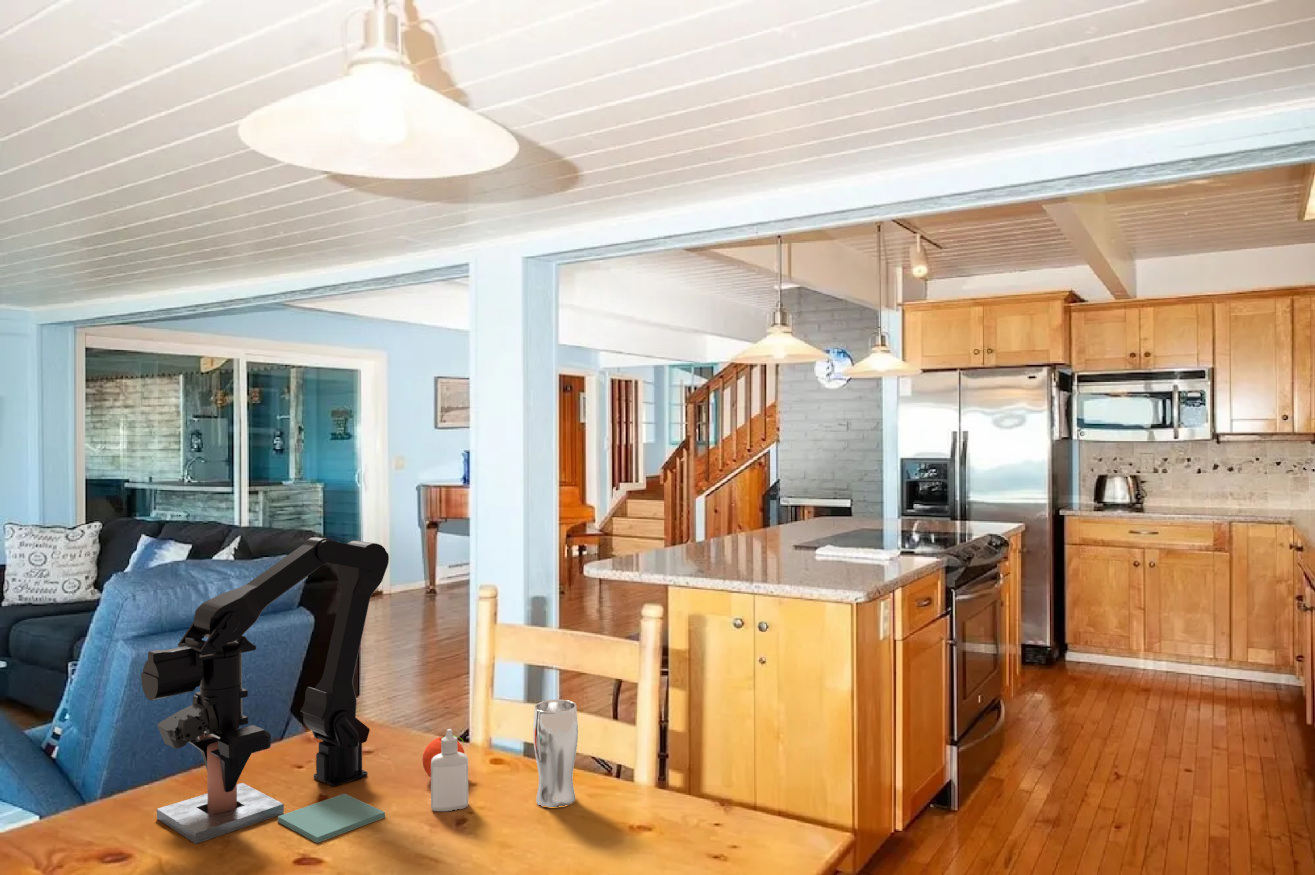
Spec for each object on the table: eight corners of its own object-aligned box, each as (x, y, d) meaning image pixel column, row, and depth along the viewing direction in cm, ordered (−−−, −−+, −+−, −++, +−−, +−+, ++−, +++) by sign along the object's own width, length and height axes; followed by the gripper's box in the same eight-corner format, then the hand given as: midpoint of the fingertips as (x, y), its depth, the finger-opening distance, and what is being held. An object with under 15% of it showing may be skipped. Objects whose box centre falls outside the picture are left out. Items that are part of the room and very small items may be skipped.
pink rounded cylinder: (229, 803, 141) (228, 738, 141) (241, 810, 139) (241, 744, 138) (202, 812, 138) (202, 745, 138) (215, 819, 135) (214, 751, 135)
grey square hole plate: (242, 792, 147) (242, 782, 147) (283, 813, 139) (283, 804, 139) (156, 819, 137) (156, 809, 137) (195, 844, 129) (195, 833, 129)
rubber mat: (344, 798, 145) (344, 793, 145) (384, 817, 138) (384, 812, 138) (277, 821, 136) (277, 816, 136) (317, 843, 129) (317, 837, 129)
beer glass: (525, 806, 142) (524, 709, 141) (547, 789, 148) (546, 697, 148) (565, 813, 139) (564, 714, 139) (585, 796, 145) (585, 702, 145)
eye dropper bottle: (459, 815, 138) (459, 736, 138) (426, 811, 140) (425, 732, 140) (472, 803, 143) (472, 726, 142) (440, 799, 144) (439, 723, 144)
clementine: (450, 766, 158) (450, 725, 158) (478, 775, 154) (478, 733, 154) (413, 781, 152) (413, 738, 152) (441, 790, 148) (441, 746, 148)
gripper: (138, 685, 138) (139, 788, 138) (194, 709, 126) (195, 822, 126) (213, 670, 146) (214, 767, 147) (272, 691, 134) (273, 797, 135)
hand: (222, 787), depth 138 cm, fingers closed on pink rounded cylinder, 4 cm apart
